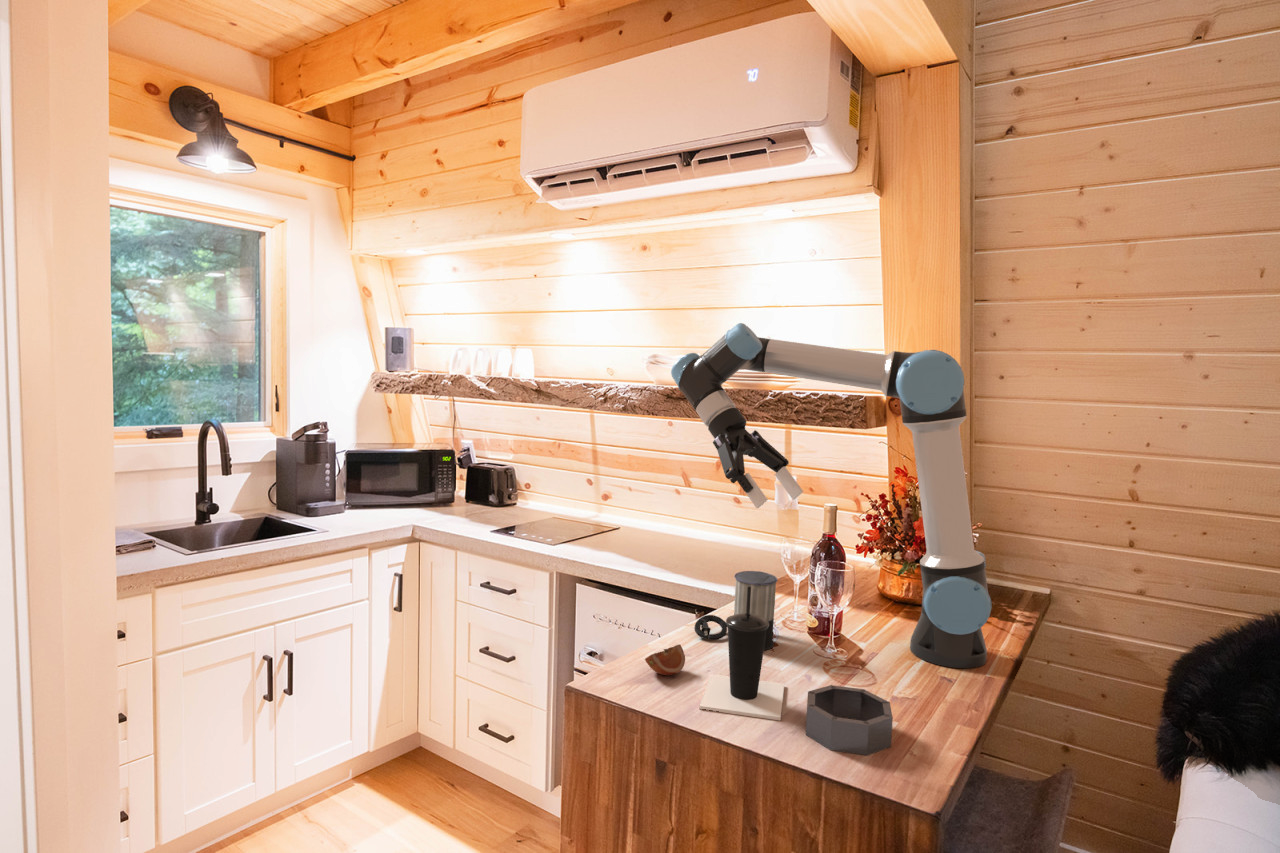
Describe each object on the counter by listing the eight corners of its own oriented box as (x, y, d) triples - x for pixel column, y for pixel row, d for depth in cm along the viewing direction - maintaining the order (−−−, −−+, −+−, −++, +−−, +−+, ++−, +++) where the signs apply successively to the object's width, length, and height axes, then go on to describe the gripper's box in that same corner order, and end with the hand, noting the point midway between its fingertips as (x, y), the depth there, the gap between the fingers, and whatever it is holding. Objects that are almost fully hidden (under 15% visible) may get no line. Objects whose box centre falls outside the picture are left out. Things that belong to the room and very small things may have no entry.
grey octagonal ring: (885, 720, 134) (887, 692, 133) (892, 759, 121) (895, 728, 120) (806, 709, 137) (808, 682, 136) (805, 746, 124) (806, 716, 123)
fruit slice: (660, 685, 145) (661, 659, 144) (636, 673, 150) (636, 648, 149) (691, 673, 150) (692, 648, 150) (666, 662, 155) (667, 638, 155)
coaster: (784, 686, 146) (784, 683, 146) (780, 720, 132) (780, 717, 132) (710, 676, 149) (710, 673, 149) (699, 709, 135) (699, 705, 135)
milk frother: (781, 650, 164) (785, 582, 162) (711, 655, 160) (714, 585, 158) (754, 626, 177) (757, 563, 176) (689, 630, 173) (691, 566, 172)
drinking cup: (717, 698, 139) (722, 589, 137) (728, 682, 146) (734, 578, 144) (759, 707, 136) (765, 596, 134) (769, 689, 143) (774, 584, 141)
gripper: (743, 426, 172) (799, 502, 164) (674, 432, 154) (733, 519, 145) (765, 404, 168) (824, 481, 160) (696, 407, 150) (758, 496, 141)
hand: (780, 500), depth 153 cm, fingers open, 13 cm apart
